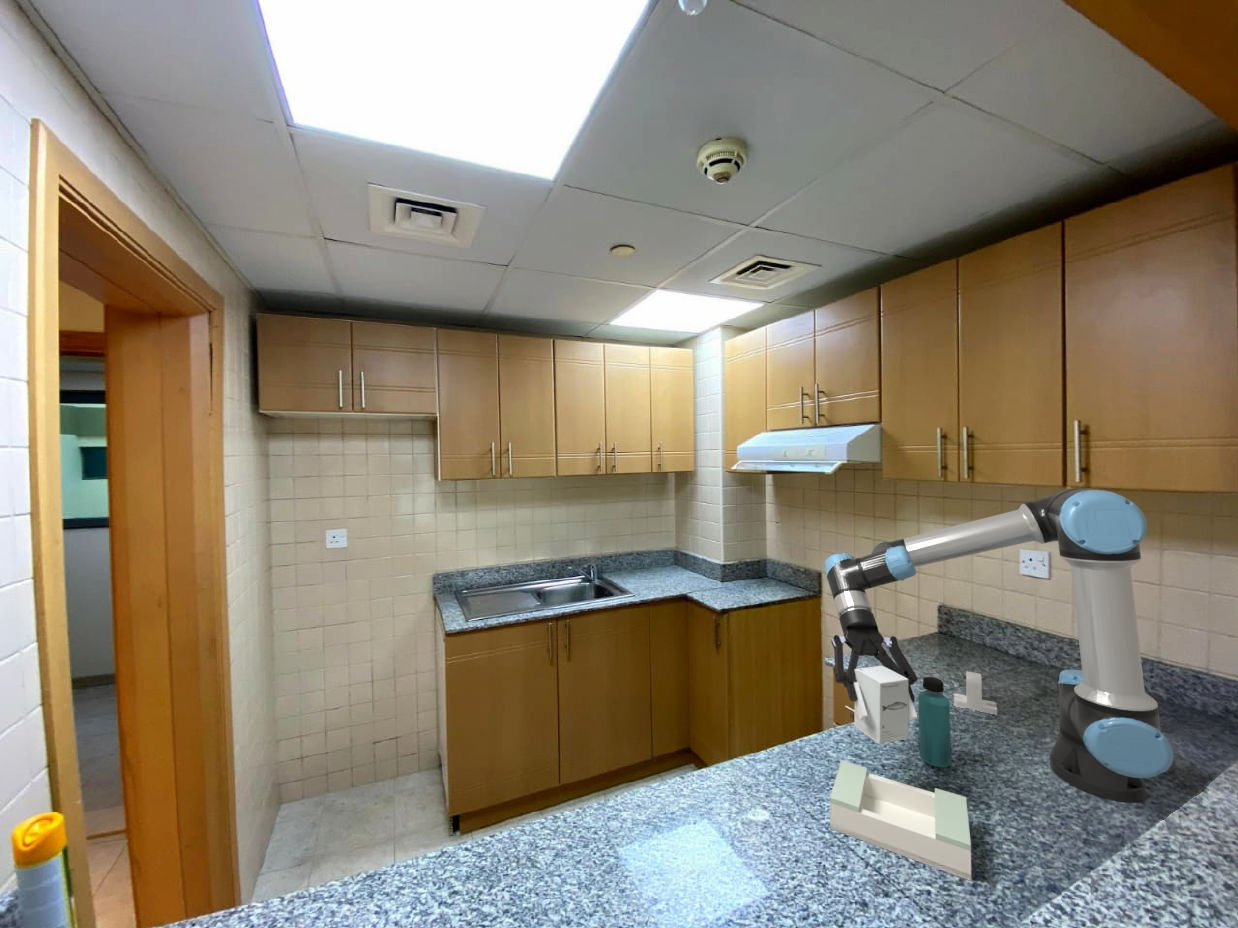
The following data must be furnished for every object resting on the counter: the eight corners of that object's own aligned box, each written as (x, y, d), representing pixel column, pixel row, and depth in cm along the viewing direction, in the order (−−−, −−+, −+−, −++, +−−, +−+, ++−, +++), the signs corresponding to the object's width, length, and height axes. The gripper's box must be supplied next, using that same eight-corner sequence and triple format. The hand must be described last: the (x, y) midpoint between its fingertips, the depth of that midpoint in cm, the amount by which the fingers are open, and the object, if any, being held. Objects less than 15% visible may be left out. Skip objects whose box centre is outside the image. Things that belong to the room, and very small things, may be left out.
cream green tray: (966, 828, 93) (965, 796, 93) (971, 880, 81) (970, 845, 81) (841, 787, 105) (841, 760, 105) (830, 828, 93) (830, 797, 93)
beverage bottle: (957, 775, 109) (956, 686, 109) (924, 772, 110) (923, 684, 110) (943, 758, 115) (943, 674, 115) (913, 755, 117) (912, 672, 117)
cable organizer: (953, 699, 144) (953, 665, 144) (996, 708, 139) (995, 673, 139) (954, 706, 140) (953, 672, 140) (997, 716, 134) (997, 680, 134)
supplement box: (879, 745, 97) (879, 683, 97) (853, 725, 105) (853, 667, 104) (909, 740, 99) (909, 678, 99) (882, 721, 106) (881, 663, 106)
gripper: (897, 623, 116) (936, 725, 100) (805, 621, 118) (828, 722, 102) (909, 607, 111) (952, 713, 95) (811, 606, 112) (838, 710, 97)
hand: (888, 718), depth 99 cm, fingers closed on supplement box, 9 cm apart
